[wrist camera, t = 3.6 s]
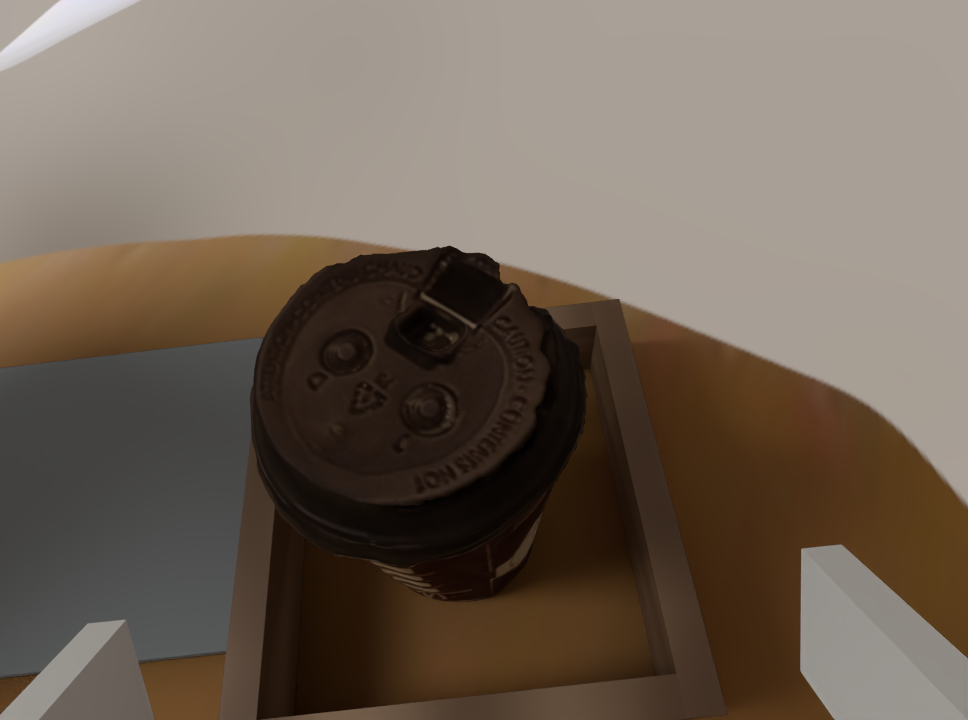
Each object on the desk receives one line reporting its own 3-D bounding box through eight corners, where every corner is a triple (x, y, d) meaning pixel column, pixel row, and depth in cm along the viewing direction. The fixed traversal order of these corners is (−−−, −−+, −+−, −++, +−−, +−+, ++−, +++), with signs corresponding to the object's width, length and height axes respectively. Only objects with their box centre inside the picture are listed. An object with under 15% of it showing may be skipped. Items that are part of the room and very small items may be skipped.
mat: (-181, 698, 23) (-197, 697, 23) (-49, 381, 31) (-59, 375, 30) (233, 652, 23) (226, 650, 23) (267, 343, 30) (262, 337, 30)
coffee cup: (534, 408, 28) (535, 192, 17) (596, 596, 23) (653, 475, 12) (344, 456, 27) (213, 266, 16) (372, 659, 23) (218, 591, 12)
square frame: (257, 765, 21) (212, 771, 18) (289, 380, 29) (262, 341, 26) (700, 716, 21) (727, 714, 18) (610, 343, 29) (619, 298, 26)
